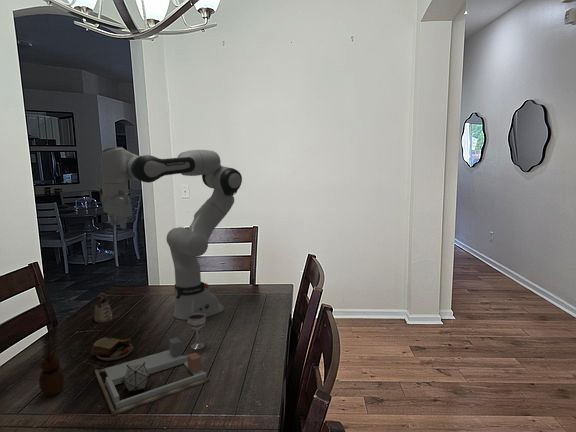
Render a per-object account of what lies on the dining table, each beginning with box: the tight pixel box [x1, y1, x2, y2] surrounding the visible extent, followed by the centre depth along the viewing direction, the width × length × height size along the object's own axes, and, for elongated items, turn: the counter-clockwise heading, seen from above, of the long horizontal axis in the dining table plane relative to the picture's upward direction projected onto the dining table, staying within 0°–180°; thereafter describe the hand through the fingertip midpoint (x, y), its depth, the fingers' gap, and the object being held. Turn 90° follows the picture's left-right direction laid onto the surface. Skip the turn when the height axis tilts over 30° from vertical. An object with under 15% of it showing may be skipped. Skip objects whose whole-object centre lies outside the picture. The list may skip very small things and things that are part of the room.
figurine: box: [93, 292, 113, 324], centre depth 169 cm, size 7×7×12 cm
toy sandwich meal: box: [90, 337, 134, 362], centre depth 141 cm, size 12×14×5 cm
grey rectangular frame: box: [104, 352, 207, 410], centre depth 122 cm, size 27×14×5 cm, turn 126°
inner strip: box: [104, 336, 184, 379], centre depth 131 cm, size 24×8×6 cm, turn 126°
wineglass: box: [187, 312, 207, 350], centre depth 145 cm, size 7×7×12 cm
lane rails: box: [94, 349, 210, 416], centre depth 125 cm, size 29×26×1 cm
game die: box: [121, 362, 152, 395], centre depth 118 cm, size 9×8×10 cm
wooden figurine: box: [38, 342, 66, 397], centre depth 116 cm, size 7×6×15 cm
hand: (118, 226), depth 148 cm, fingers open, 8 cm apart
